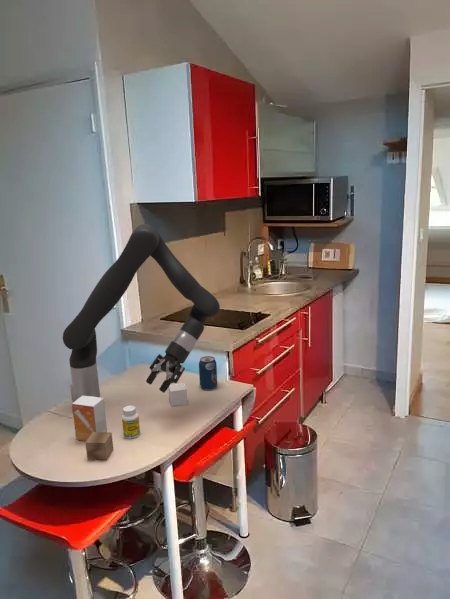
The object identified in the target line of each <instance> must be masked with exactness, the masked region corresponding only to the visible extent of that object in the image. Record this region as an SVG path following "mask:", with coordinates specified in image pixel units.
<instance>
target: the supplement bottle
mask: <svg viewBox="0 0 450 599" xmlns="http://www.w3.org/2000/svg"><path fill="white" fill-rule="evenodd" d="M122 412H123V414H122V415H121V423H122V434H123V437H124V438H126V439H129V440H130V439H131V440H132V439H137V437H139V436H140V434H141V428H140V418H139V413H138V412H137V409H136V406H135V405H127V406H124V407H123V408H122Z"/></svg>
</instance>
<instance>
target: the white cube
mask: <svg viewBox="0 0 450 599" xmlns="http://www.w3.org/2000/svg"><path fill="white" fill-rule="evenodd" d="M168 398H169V399H168V400H169V403H170V406H171V407H176V406H184V405H188V391H187V386H186V385H185V383H184V382H180V383H171V384H170V386H169V387H168Z"/></svg>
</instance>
